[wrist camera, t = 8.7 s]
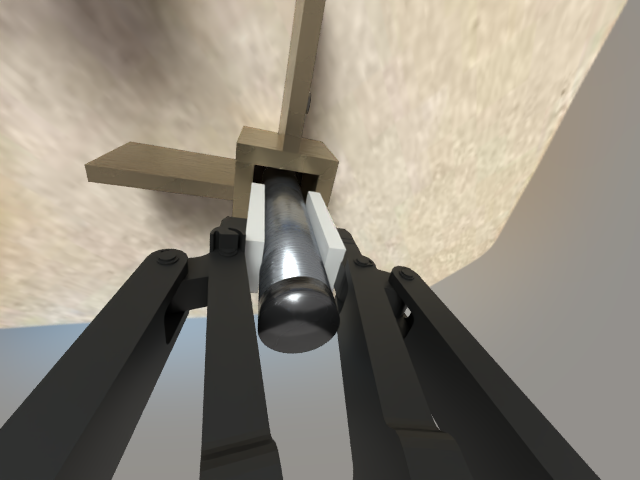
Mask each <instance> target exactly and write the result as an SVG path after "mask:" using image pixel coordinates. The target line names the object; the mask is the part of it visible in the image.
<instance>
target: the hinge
mask: <svg viewBox="0 0 640 480" xmlns="http://www.w3.org/2000/svg"><path fill="white" fill-rule="evenodd" d="M325 1H326V0H296V6H295V13H294V21H293V28H292V35H291V43H290V50H289V58H288V65H287V73H286V80H285V87H284V95H283V102H282V110H281V117H280V124H279V132H278V133H276V132H271V131H266V130H261V129H256V128H251V127H246V126H243V129H242V131H241V134H240V136H239V138H238V141H237V147H236V159H230V158H224V157H218V156H212V155H206V154H200V153H194V152H189V151H183V150H177V149H171V148H165V147H159V146H153V145H147V144H141V143H135V142H129V143H127V144H125V145H123V146H121V147H119V148H117V149H115V150H113V151H111V152H109V153H107V154H105V155H103V156H101V157H99V158H97V159H95V160H93V161H91V162H89V163H87V164H85V169H86V173H87V178H88V182H95V183H103V184H111V185H118V186H126V187H134V188H142V189H149V190H157V191H165V192H172V193H180V194H188V195H195V196H203V197H211V198H219V199H226V200H233V211H232V217H238V218H248V210H249V201H250V193H251V185H252V183H253V175H254V165H261V166H267V167H273V168H279V169H285V170H291V171H297V172H303V177H302V182H301V187H300V190H301V193H302V196H303V199H304V203H305V205H306V200H307V195H308V191H311V192H318V193H320V194H321V196H322V199H323V201H324V203H325V205H326V207H328V203H329V199H330V195H331V191H332V187H333V183H334V179H335V176H336V172H337V168H338V164H339V161H338V160H337V159H336V157H335V156H334V155H333V154H332V153H331V151H330V150H329V149H328V148H327V147H326V146H325V144H324V143H323V142H321V141H316V140H311V139H306V138H301V137H302V131H303V125H304V120H305V114H308V111H309V107H310V101H311V93H309V91H310V86H311V80H312V75H313V69H314V63H315V58H316V52H317V46H318V41H319V35H320V29H321V24H322V18H323V12H324V7H325Z"/></svg>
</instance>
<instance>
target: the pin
mask: <svg viewBox="0 0 640 480" xmlns="http://www.w3.org/2000/svg"><path fill="white" fill-rule="evenodd" d="M262 184H264V185H265V239H264V249H263V257H262V263H261V266H260V270H259V304H258V335H259V337H260V339H261V341H262V342H263V343H264V344H265V345H266V346H267V347H269V348H271V349H273V350H275V351H278V352H283V353H302V352H307V351H310V350H313V349H316V348H318V347H320V346H322V345H323V344H325V343H327V342H328V341H329V340H330V339H331V338H332V337H333V336H334V335H335V334H336V332H337V330H338V328H339V325H340V316H339V313H338V309H337V306H336V303H335V300H334V296H333V293H332V290H331V287H330V283H329V280H328V277H327V274H326V270H325V267H324V264H323V261H322V258H321V254H320V251H319V248H318V245H317V241H316V238H315V235H314V232H313V228H312V225H311V222H310V219H309V216H308V212H307V209H306V206H305V203H304V199H303V196H302V193H301V190H300V186H299V183H298V180H297V177H296V174H295V172H294V171H291V170H285V169H279V168H273V167H267V168H266V169H265V170H264V172H263V175H262Z"/></svg>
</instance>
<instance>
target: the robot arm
mask: <svg viewBox="0 0 640 480" xmlns="http://www.w3.org/2000/svg"><path fill="white" fill-rule="evenodd" d="M305 206H306V209H307V212H308V216H309V219H310V222H311V225H312V228H313V232H314V235H315V238H316V241H317V245H318V248H319V251H320V254H321V258H322V261H323V264H324V267H325V270H326V274H327V277H328V280H329V283H330V287H331V290H332V292H333V289H334V288H335V291H336V296H335V299H334V300H335V303H336V306H337V309H338V313H339V316H340V325H339V328H338V330H337V334H338V342H339V351H340V360H341V368H342V377H343V385H344V393H345V402H346V410H347V418H348V427H349V436H350V444H351V452H352V460H353V480H601V479H600V478H599V477H598V476H597V475H596V474H595V473H594V471H592V469H591V468H590V467H589V466H588V465H587V464H586V463H585V461H584V460H583V459H582V458H581V457H580V456H579V455H578V453H576V451H575V450H574V449H573V448H572V447H571V446H570V445H569V443H568V442H567V441H566V440H565V439H564V438H563V437H562V436H561V434H560V433H559V432H558V431H557V430H556V429H555V428H554V427H553V425H552V424H551V423H550V422H549V421H548V420H547V419H546V418H545V416H544V415H543V414H542V413H541V412H540V411H539V410H538V409H537V408H536V406H535V405H534V404H533V403H532V402H531V401H530V400H529V399H528V398H527V396H526V395H525V394H524V393H523V392H522V391H521V390H520V388H519V387H518V386H517V385H516V384H515V383H514V382H513V381H512V380H511V378H510V377H509V376H508V375H507V374H506V373H505V372H504V371H503V369H502V368H501V367H500V366H499V365H498V364H497V363H496V362H495V361H494V359H493V358H492V357H491V356H490V355H489V354H488V353H487V351H486V350H485V349H484V348H483V347H482V346H481V345H480V344H479V342H478V341H477V340H476V339H475V338H474V337H473V336H472V335H471V333H470V332H469V331H468V330H467V329H466V328H465V327H464V326H463V325H462V324H461V322H460V321H459V320H458V319H457V318H456V317H455V316H454V314H453V313H452V312H451V311H450V310H449V309H448V308H447V307H446V305H445V304H444V303H443V302H442V301H441V300H440V299H439V298H438V297H437V295H436V294H435V293H434V292H433V291H432V290H431V289H430V288H429V286H428V285H427V284H426V283H425V282H424V281H423V280H422V279H421V277H420V276H419V275H418V274H417V273H416V272H414V271H413V270H411V269H410V268H407V267H402V266H396V267H394V268H393V269H392V271H391V273H388V272H385V271H381V270H378V269H377V268H376V265H375V264H374V262H373V261H372V260H371V259H369V258H367V257H365V256H363V255H362V254H361V253H360V251H359V249H358V247H357V245H356V243H355V241H354V240H353V238H352V236H351V234H350V233H349V232H348V231H346V230H345V229H340V228H336V227H335V225H334V222H333V220H332V218H331V216H330V214H329V212H328V209H327V207H326V205H325V203H324V201H323V199H322V196H321V194H320V193H318V192H311V191H308V195H307V200H306V205H305ZM264 239H265V185H264V184H257V183H252V185H251V193H250V201H249V210H248V218H238V217H229V216H227V217H226V218H225V219H223V220H222V222H221V225H220V227H217V228H215V229H213V230H212V231H211V233H210V253H208V254H207V255H204V256H201V257H195V258H188V256H187V255H186V253H184V252H183V251H181V250H177V249H162V250H158V251H155V252H153V253H151V254H150V255H149V256H147V258H146V259H145V260H144V261H143V262H142V263H141V265H140V266H139V267H138V268H137V269H136V270H135V272H134V273H133V274H132V275H131V276H130V277H129V279H128V280H127V281H126V282H125V283H124V285H123V286H122V287H121V288H120V289H119V290H118V292H117V293H116V294H115V295H114V296H113V297H112V299H111V300H110V301H109V302H108V303H107V304H106V306H105V307H104V308H103V309H102V310H101V311H100V313H99V314H98V315H97V316H96V317H95V319H94V320H93V321H92V322H91V323H90V324H89V326H88V327H87V328H86V329H85V330H84V331H83V333H82V334H81V335H80V336H79V338H77V340H76V341H75V342H74V343H73V344H72V345H71V347H70V348H69V349H68V350H67V351H66V352H65V354H64V355H63V356H62V357H61V358H60V360H59V361H58V362H57V363H56V364H55V365H54V367H53V368H52V369H51V370H50V371H49V372H48V374H47V375H46V376H45V377H44V378H43V379H42V381H41V382H40V383H39V384H38V385H37V387H36V388H35V389H34V390H33V391H32V392H31V394H30V395H29V396H28V397H27V398H26V399H25V401H24V402H23V403H22V404H21V405H20V407H19V408H18V409H17V410H16V411H15V412H14V413H13V415H12V416H11V417H10V418H9V419H8V420H7V422H6V423H5V424H4V425H3V426H2V428H1V429H0V480H111V479H112V477H113V475H114V473H115V471H116V468H117V466H118V464H119V462H120V460H121V458H122V456H123V453H124V451H125V449H126V447H127V445H128V443H129V441H130V438H131V436H132V434H133V432H134V430H135V427H136V425H137V423H138V421H139V419H140V417H141V415H142V412H143V410H144V408H145V406H146V404H147V402H148V400H149V397H150V395H151V393H152V391H153V389H154V387H155V385H156V382H157V380H158V378H159V376H160V374H161V372H162V370H163V367H164V365H165V363H166V361H167V359H168V357H169V354H170V352H171V350H172V348H173V346H174V344H175V342H176V340H177V337H178V335H179V333H180V331H181V329H182V327H183V324H184V322H185V320H186V318H187V316H188V314H189V310H192V309H197V308H202V307H206V306H207V330H206V354H205V376H204V377H205V378H204V400H203V424H202V448H201V462H200V480H283V476H282V470H281V465H280V458H279V453H278V449H277V446H276V443H275V441H274V440H273V439H272V437H271V434H270V428H269V422H268V414H267V407H266V400H265V393H264V386H263V379H262V372H261V365H260V358H259V350H258V343H257V336H256V329H255V322H254V315H253V308H252V301H251V294H250V293H258V286H259V270H260V266H261V263H262V257H263V249H264ZM407 307H408V308H409V309H410V311H411V314H410V315H409V317H407V316H406V314H405V313H404V312H405V310H406V309H407ZM432 416H433V418H434V420H435V421H436V423H437V425H438V427H439V429H440V430H439V429H438V428H437V427H436V424H435V423H434V420H433V418H432Z"/></svg>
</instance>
